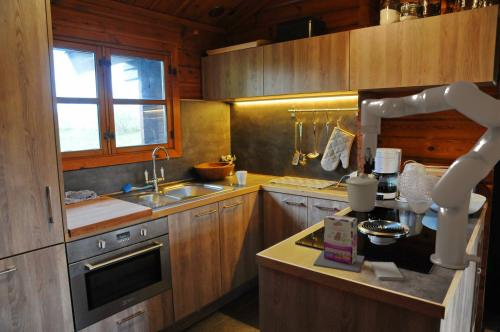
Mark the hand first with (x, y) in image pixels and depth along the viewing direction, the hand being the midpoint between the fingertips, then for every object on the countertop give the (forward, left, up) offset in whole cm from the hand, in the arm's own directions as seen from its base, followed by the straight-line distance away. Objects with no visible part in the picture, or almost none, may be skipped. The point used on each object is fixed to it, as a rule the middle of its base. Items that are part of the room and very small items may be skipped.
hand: (369, 172), depth 150 cm
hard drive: (-10, +27, -31) cm, 42 cm away
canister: (+10, -52, -31) cm, 61 cm away
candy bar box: (+7, +24, -30) cm, 39 cm away
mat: (+7, +24, -30) cm, 39 cm away
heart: (-19, -54, -31) cm, 65 cm away
